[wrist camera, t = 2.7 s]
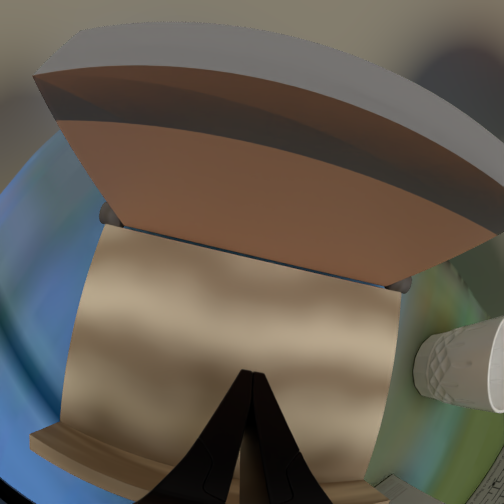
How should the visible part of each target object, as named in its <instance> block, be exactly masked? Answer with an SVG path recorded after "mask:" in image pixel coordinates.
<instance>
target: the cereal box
mask: <svg viewBox="0 0 504 504" xmlns="http://www.w3.org/2000/svg"><path fill="white" fill-rule="evenodd" d="M502 503H504V447H503V449H502V450H501V452H500V454H499V456H498V457H497V459H496V461H495V462H494V464H493V466H492V467H491V469H490V470H489V472H488V473H487V475H486V476H485V478H484V479H483V481H482V482H481V484H480V485H479V487H478V488H477V489H476V491H475V492H474V493H473V495H472V496H471V497H470V499H469V500H468V501H467V503H466V504H502Z"/></svg>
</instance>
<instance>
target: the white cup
mask: <svg viewBox="0 0 504 504" xmlns="http://www.w3.org/2000/svg"><path fill="white" fill-rule="evenodd" d="M413 376H414V383H415V387H416V388H417V390H418V391H419V393H420V394H421V395H422V396H425V397H428V398H431V399H436V400H440V401H441V402H443V403H448V404H451V405H455V406H460V407H465V408H470V409H476V410H482V411H488V412H494V413H503V412H504V315H503V316H500V317H497V318H493V319H490V320H486V321H483V322H479V323H475V324H471V325H467V326H463V327H460V328H457V329H453V330H451V331H448V332H445V333H441V334H435V335H431V336H430V337H429V338H428V339H427V340H426V341H425V342H423V343H422V345H421V347H420V349H419V351H418V353H417V355H416V357H415V363H414V368H413Z"/></svg>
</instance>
